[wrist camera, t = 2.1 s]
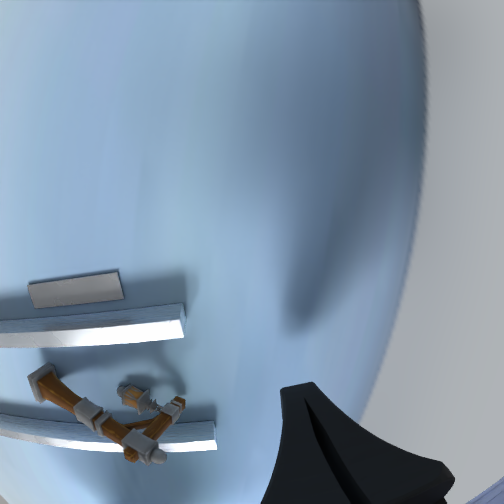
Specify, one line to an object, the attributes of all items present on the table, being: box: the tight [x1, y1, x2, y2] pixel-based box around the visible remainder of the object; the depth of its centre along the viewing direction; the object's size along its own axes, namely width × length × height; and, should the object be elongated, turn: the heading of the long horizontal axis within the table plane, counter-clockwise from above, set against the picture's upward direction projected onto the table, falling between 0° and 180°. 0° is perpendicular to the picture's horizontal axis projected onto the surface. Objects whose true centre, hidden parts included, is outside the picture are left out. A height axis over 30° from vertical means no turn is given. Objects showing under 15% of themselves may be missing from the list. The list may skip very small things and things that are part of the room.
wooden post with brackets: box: [27, 362, 185, 466], centre depth 12 cm, size 2×8×4 cm, turn 82°
